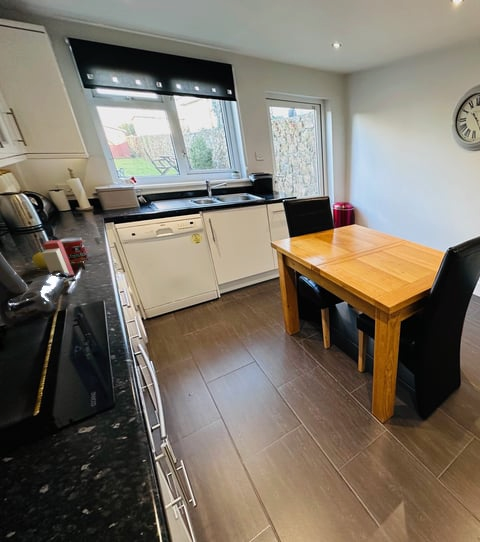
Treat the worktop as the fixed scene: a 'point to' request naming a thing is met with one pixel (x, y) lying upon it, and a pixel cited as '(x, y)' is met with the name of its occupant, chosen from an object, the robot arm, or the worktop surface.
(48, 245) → the marker red
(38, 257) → the lemon
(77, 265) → the score rail
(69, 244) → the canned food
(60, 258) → the block
